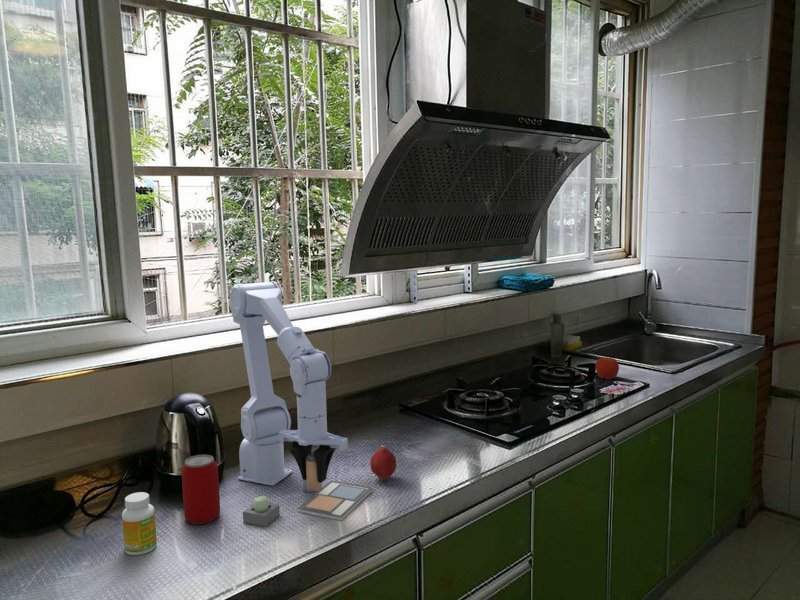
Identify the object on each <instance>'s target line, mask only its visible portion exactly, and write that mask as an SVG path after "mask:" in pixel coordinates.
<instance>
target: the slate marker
mask: <svg viewBox="0 0 800 600" xmlns="http://www.w3.org/2000/svg"><path fill="white" fill-rule="evenodd" d="M302 490H303V491H304V492H307V493H311V492H314V491H309V490H307V479H306V480H303V479H302Z"/></svg>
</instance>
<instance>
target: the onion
mask: <svg viewBox="0 0 800 600" xmlns="http://www.w3.org/2000/svg"><path fill="white" fill-rule="evenodd" d="M369 465H370V471H371V472H372V473H373V474H374V475H375V476H376V477H377V478H379V479H380V480H381V481H385V480H387V479H389V478H390V477H391V476H392V475H393V474H394V473H395V471H396V469H397V458H396V456H395V454H394V453H393V452H392V450H390V449H388V448H387V447H386V446H385V445H380V446H379V449H377V450H376V451H375V452H374V453H373V455H372V456H371V458H370V460H369Z"/></svg>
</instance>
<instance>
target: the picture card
mask: <svg viewBox="0 0 800 600" xmlns="http://www.w3.org/2000/svg"><path fill="white" fill-rule="evenodd" d="M372 492H373V487H372V486H365V485H359V484H353V483H348V482H343V481H342V482H341V481H336V480H330V481H328V482H327V483H326V484H325V485H323V486H322V488H321V489H320V490H317V491H315V493H314V494H312V495H311V497H309V498H308V499H306V500H305V501H304V502H303V503H302V504H301V505H299V506H298V507H297V508H296V509H297V512H298V513H303V514H308V515H312V516H318V517H323V518H328V519H332V520H339V521H343V520H344V519H345V518H346V517H347V516H348V515H349V514H350V513H351V512H352V511H353V510H354V509H355V508H357V506H358V505H359V504H360V503H361V502H363V500H364V499H365V498H367V496H369V495H370V493H372Z"/></svg>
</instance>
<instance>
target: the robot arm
mask: <svg viewBox="0 0 800 600" xmlns="http://www.w3.org/2000/svg"><path fill="white" fill-rule="evenodd" d="M282 303H283V294H282V290H281V287H280V286H279V284H278V283H277V282H276V281H274V280H270V281H265V282H254V283H252V282H251V283H244V284H243V283H242V284H240V283H236V284H234V285H233V286H232V288H231V291H230V294H229V304H230V310H231V316H232V319H233V322H234V323H236V324H238V325H239V329H240V336H241V340H242V341H241V343H242V347H243V354H244V360H245V365H246V373H247V378H248V384H249V385H248V386H249V391H250V396H251V397H250V398H249V399H248V401H247V402H246V403H245V404H244V405H243V406H242V408H241V409H240V415H241V416H240V418H241V420H240V429H241V433H242V436H243V437H244V438H243V439H242V441H241V443H240V445H239V453H238V456H239V473H240V476H238V477H237V478H238V480H241V481H246V482H250V483H251V482H252V483H256V484H261V485H267V486H275V485H276V484H278V483H279V482H281V481H282V480H283V479H285V478H286V477H288V476H289V475H291V474H292V473H293V470H292V469H287V468H285V455H284V454H285V453H284V452H285V451H284V442H291V443H292V445H291V446H290V447H289V452H290V453H291V455H292V457H293V458H294V460H295V462H296V464H297V466H298V470H299V473H300V474H301V479H302V481H303V480H306V458H307V454H308V453H310V452H313V454H314V457H315V460H316V465H317V479H318V482H319V483H322V484H323V482H324V481H326V480H327V475H328V470H329V466H330V463H331V461H332V457H333V456H334V453H335V451H336V450H338V451H341V452H343V451H345V450H347V448H348V445H349V444H348V443H349V442H348V437H343V436H339V435H337V434H336V435H335V434H334V433H330V432H328V422H327V417H328V416H327V390H326V388H327V386H326V385H327V384H326V382H327V381H328V380H329V378H330V377H331V374H332V364H331V360H330V358H329V356H328V354H327V353H326V352H325V351H323V350H320V349H319V348H315V347H314V346H313V344H312V342H311V341H310V340H309V339H308V336H307V335H306V334H305V332H304V331H303V329H302V328H300V327H299V326H294V325H293V323H292V321H291V319H290V317H289V315H288V313H287V311H286V310H285V308H284V307H283V304H282ZM265 322H267V323H268V324H269V326H270V327H271V328H272V329H273V331H274V332H275V333H276V335H277V340H276V344H277V346H278V347H279V349H280V351H281V353H282V354H283V356H284V357H285V359H286V361H287V362H288V364H289V365H290V366H289V367H290V368H289V374H290V378H291V380H292V385H293V387H292V388H293V391H294V393H296V409H297V412H296V413H297V414H296V415H297V417H296V418H297V429H291V425H292V420H291V419H292V418H291V414H290V413H289V410H288V407H287V404H286V401H285V400H284V399H283V398H281V397H279V396H277V394H274V393H275V391H274V387H273V381H272V380H273V379H272V374H271V368H270V361H269V355H268V348H267V343H266V338H265V336H266V335H265V332H264V331H265V330H264V324H265ZM268 408H269V409H268ZM313 446H317V448H316V449H315V450H312V449H313Z"/></svg>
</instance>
